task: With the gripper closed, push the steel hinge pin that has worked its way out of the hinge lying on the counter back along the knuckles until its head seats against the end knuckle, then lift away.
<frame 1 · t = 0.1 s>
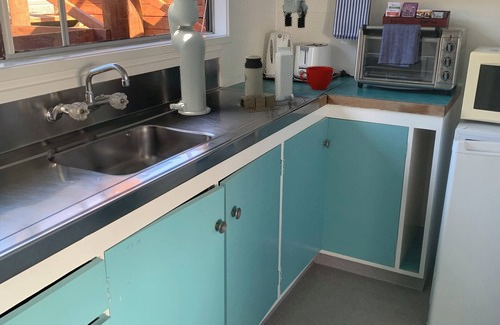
hand: (294, 27, 208), 31 cm above the counter, tool pointing down, fingers open, 9 cm apart
hinge: (257, 107, 207), on the counter
milk: (283, 96, 228), on the counter
ceramic cup: (315, 89, 243), on the counter
travel mug: (253, 97, 228), on the counter
pin: (276, 99, 210), point 3 cm above the counter, slide at 8.0 cm
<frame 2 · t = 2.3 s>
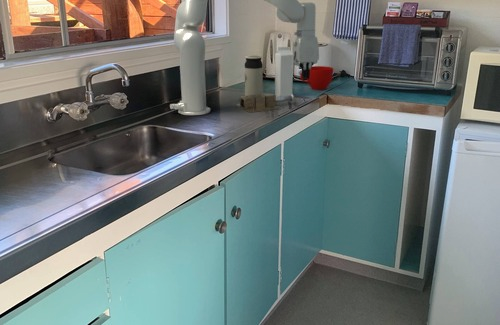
hand: (305, 78, 213), 10 cm above the counter, tool pointing down, fingers closed
nothing on the counter moved.
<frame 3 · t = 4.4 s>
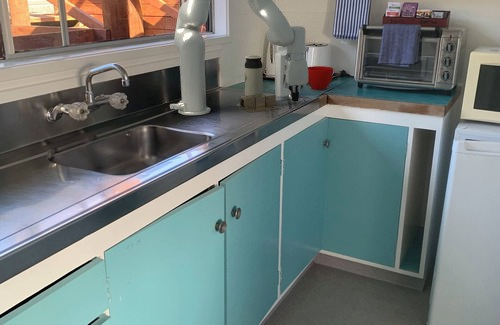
hand: (294, 100, 214), 1 cm above the counter, tool pointing down, fingers closed
pin: (273, 99, 209), point 3 cm above the counter, slide at 6.9 cm, touching gripper
everything else where it was.
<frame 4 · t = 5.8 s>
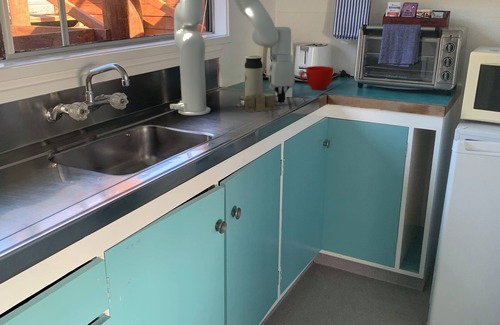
hand: (281, 102, 211), 1 cm above the counter, tool pointing down, fingers closed
pin: (259, 101, 207), point 3 cm above the counter, slide at 0.3 cm, touching gripper
everything else where it was.
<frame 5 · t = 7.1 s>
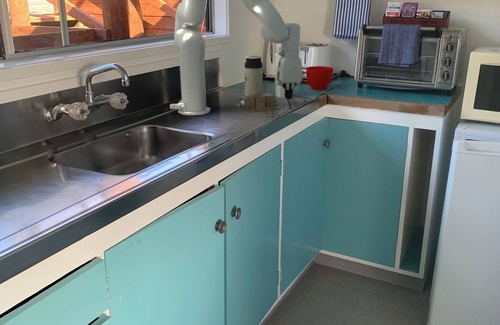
hand: (288, 98, 212), 2 cm above the counter, tool pointing down, fingers closed
pin: (259, 101, 206), point 3 cm above the counter, slide at 0.1 cm
everything else where it was.
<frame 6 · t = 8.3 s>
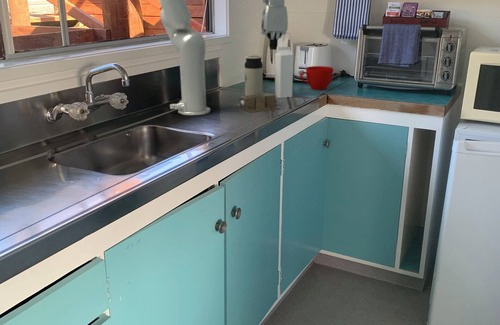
hand: (273, 49, 206), 23 cm above the counter, tool pointing down, fingers closed
nothing on the counter moved.
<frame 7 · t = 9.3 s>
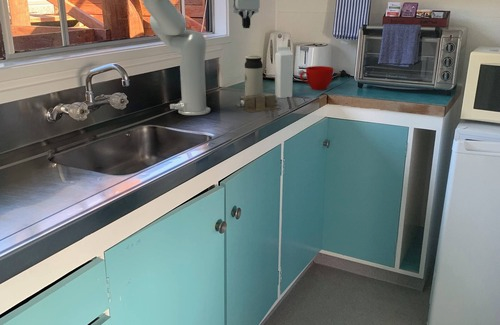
hand: (246, 27, 206), 31 cm above the counter, tool pointing down, fingers closed
nothing on the counter moved.
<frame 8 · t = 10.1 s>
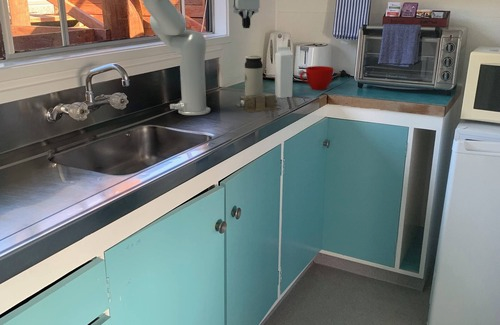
hand: (246, 27, 206), 31 cm above the counter, tool pointing down, fingers closed
nothing on the counter moved.
at the end: pin slide at 0.1 cm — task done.
